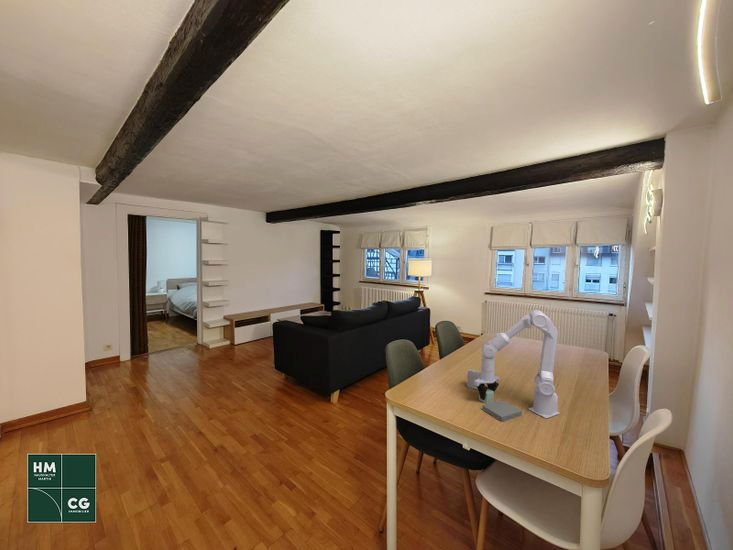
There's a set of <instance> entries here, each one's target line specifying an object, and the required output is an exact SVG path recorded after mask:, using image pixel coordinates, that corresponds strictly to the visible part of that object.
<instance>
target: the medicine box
mask: <svg viewBox="0 0 733 550" xmlns="http://www.w3.org/2000/svg"><path fill="white" fill-rule="evenodd" d="M479 376H481V370H479V369H478V370H477V369H472V368H470V369H468V370H467V378H466V379H467V382H466V383H467V384H466V388H468V389H471V390H472V389H473V390H477V391H478V388H477V386H476V385H474V380H477V379H478V378H480V377H479Z"/></svg>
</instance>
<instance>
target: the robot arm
mask: <svg viewBox="0 0 733 550" xmlns="http://www.w3.org/2000/svg"><path fill="white" fill-rule="evenodd" d="M534 327H535V328H536V329H538V330H540V331H541V332H542V333H543V338H542V347H541V356H540V363H539V369H538V370H537V374H536V375H535V377H534V383H535V384H536V386H535V387H534V390H533V403H532V406H531V407H528V410H529V411H531V412H533V413H535V414H536V415H538V416H540V417H542V418H544V419H549V418H551V417H554V416H557V415H560V414H561V413H560V412H559V411H558V408H559V407H558V406H559V397H558V394H557V393H556V387H555V385H554V380H555V379H554V367H555V359H556V351H557V344H558V335H559V331H558V329H557V328H556V326H555V324H554V323H553V320H552V319H551V318H549V317H548V316H547V314H545V313H544V312H543V311H542V310H538V309H534V310H531V311H530V312H529V313H527V314H525V315H524V316H523V317H521V319H519V320H518V321H517V322H516V323H514V324H513V325H512V326H511V327H510V328H508V329H507V330H506V331H505V332H499V333H498V332H497V333H496V334H494V337H492V338H491V339H490V340H489V339H488V340H487V341H486V343H483V345H482V346H481V352H482V355H481V364H480V365H481V366H480V368H481V369H480V371H481V376H479V377H480V378H478V379H477V380H474V385H476V386H477V388H478V390H477V391H478V394H479V395H480V398H481V399H482V400H485V396H486V391H487V389H490V390H492V391H494V393H495V392H496V390H497V389H498V387H499V385H500V383H498V382H501V377H500V376H498V375H495V367H496V364H495V363H496V361H495V357H496V356H497V353H498V352H500V351H501V350H502V349H504V348H505V347H507V346H508V345H509V344H510V343H511V339H512V338H514V336H516V335H517V334H519V333H520V332H522V331H524V330H525V329H533V328H534ZM479 395H478V396H479Z"/></svg>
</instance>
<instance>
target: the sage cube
mask: <svg viewBox="0 0 733 550" xmlns="http://www.w3.org/2000/svg"><path fill="white" fill-rule="evenodd" d="M478 401H480V402H482V403H483V404H484V405H486V404H489V403H493V402H495V392H494V391H492V390H490V389H487V391H486V396H485V400H482V399H481V398H480V395H478Z"/></svg>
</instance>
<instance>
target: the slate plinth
mask: <svg viewBox="0 0 733 550" xmlns="http://www.w3.org/2000/svg"><path fill="white" fill-rule="evenodd" d="M481 409H482V411H484V412H486V414H488V415H490V416H492V417H493V418H495V419H496V420H498V421H500V422H505V421H509V420H512V419H515V418H518V417H522V415H523V413H522V412H523V410H521V409H519V408H517V407H515V406H514V405H512V404H510V403H508V402H507V401H504V400H497V401H494V402H493V403H489V404H483V405H482V407H481Z"/></svg>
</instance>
